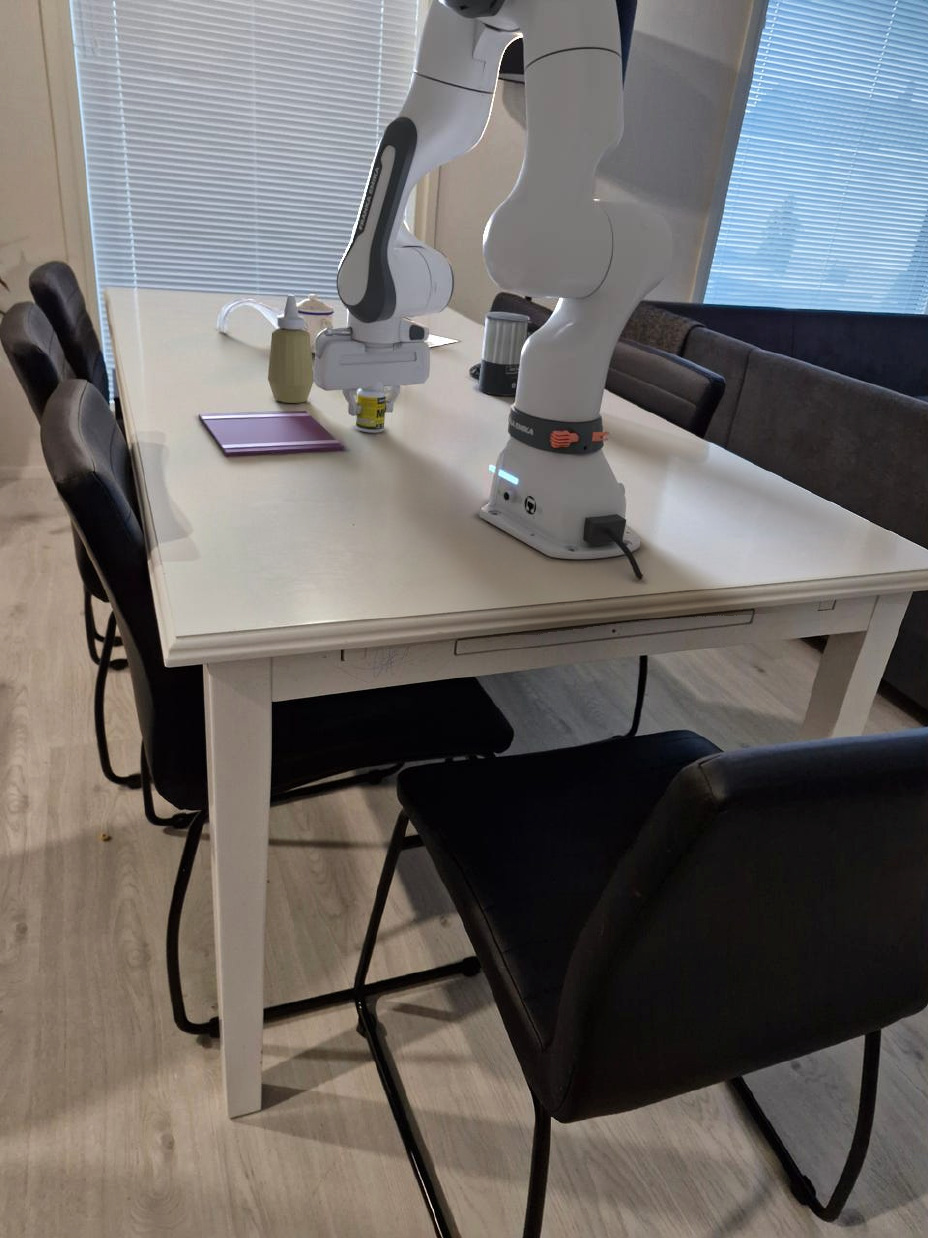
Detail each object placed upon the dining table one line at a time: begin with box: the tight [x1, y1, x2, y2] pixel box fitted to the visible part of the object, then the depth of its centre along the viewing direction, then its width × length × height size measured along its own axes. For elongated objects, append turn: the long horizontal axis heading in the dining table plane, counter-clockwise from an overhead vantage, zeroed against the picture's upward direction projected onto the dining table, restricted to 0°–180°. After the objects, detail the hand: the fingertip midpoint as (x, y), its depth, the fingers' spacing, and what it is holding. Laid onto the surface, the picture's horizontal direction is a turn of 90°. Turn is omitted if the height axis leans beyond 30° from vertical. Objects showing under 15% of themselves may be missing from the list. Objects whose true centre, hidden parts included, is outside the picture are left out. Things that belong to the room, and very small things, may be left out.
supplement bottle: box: [355, 381, 387, 434], centre depth 144 cm, size 5×5×8 cm
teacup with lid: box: [296, 293, 335, 354], centre depth 192 cm, size 12×9×12 cm
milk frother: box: [468, 311, 541, 397], centre depth 179 cm, size 14×16×15 cm
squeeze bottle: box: [267, 293, 314, 404], centre depth 153 cm, size 8×8×18 cm
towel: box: [198, 410, 345, 457], centre depth 139 cm, size 20×18×1 cm
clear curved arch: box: [216, 298, 285, 332], centre depth 207 cm, size 24×12×7 cm, turn 122°
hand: (370, 413), depth 145 cm, fingers closed on supplement bottle, 5 cm apart
